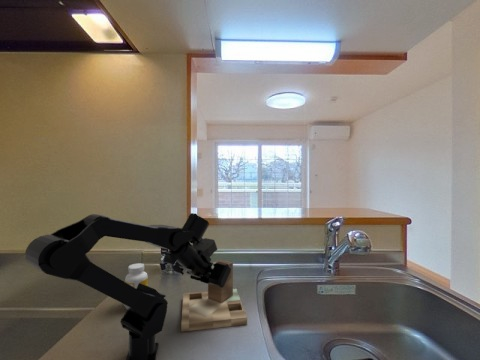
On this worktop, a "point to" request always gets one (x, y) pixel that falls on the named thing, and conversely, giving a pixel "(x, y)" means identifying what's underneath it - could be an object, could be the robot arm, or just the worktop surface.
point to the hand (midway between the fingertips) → (214, 281)
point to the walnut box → (224, 292)
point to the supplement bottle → (136, 275)
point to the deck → (211, 312)
